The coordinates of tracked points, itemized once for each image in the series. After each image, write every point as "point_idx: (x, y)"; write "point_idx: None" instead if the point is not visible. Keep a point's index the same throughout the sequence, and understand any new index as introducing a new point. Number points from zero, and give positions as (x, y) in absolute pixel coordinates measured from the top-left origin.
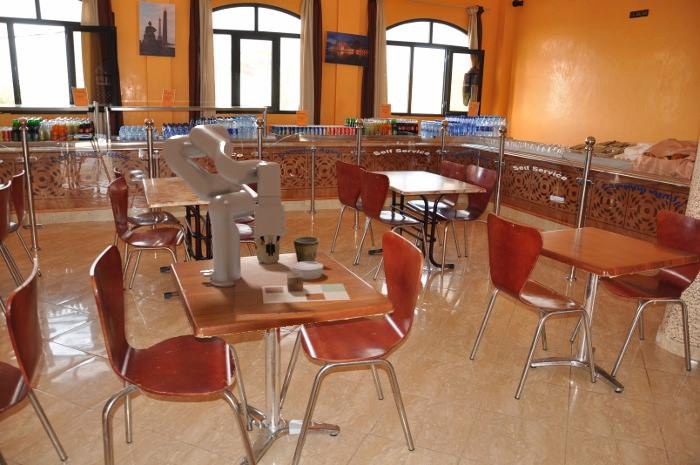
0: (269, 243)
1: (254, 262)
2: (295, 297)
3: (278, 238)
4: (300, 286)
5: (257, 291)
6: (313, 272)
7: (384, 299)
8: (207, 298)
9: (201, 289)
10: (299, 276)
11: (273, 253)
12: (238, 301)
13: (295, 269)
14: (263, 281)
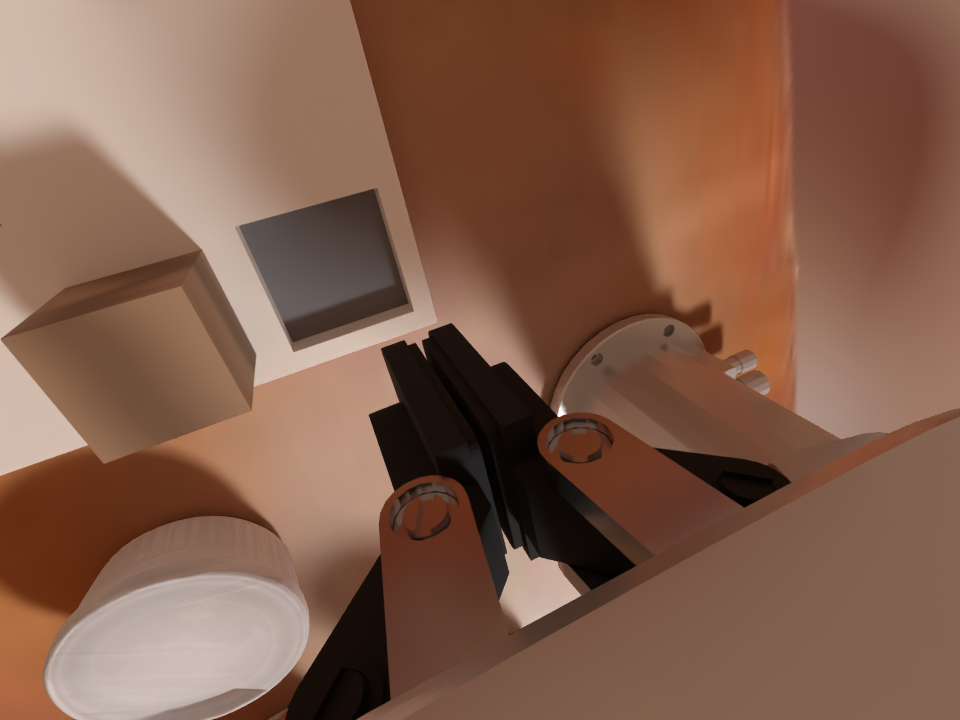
0: (517, 473)
1: None
2: (60, 111)
3: (334, 669)
4: (73, 295)
5: (454, 292)
6: (100, 592)
7: None
8: (703, 121)
9: (727, 259)
10: (65, 354)
11: None
12: (535, 81)
13: (263, 571)
14: None
